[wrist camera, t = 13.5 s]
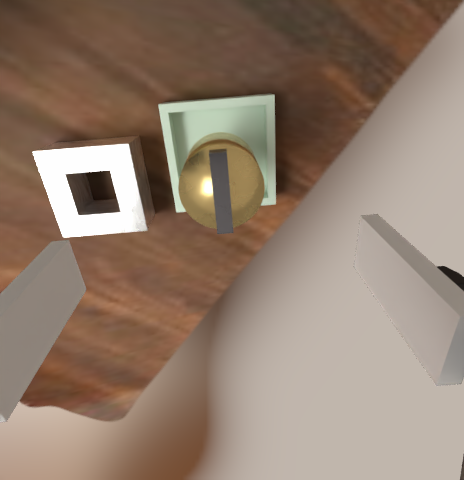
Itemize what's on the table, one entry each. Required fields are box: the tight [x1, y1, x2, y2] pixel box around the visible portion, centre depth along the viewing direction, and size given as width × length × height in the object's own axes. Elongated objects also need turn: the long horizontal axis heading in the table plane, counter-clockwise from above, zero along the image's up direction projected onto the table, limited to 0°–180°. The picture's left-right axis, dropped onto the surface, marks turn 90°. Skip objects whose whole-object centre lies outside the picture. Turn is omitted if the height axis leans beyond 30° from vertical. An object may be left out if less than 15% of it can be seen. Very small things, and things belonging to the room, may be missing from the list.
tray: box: [158, 93, 276, 212], centre depth 34 cm, size 11×11×2 cm
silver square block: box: [33, 136, 155, 237], centre depth 34 cm, size 9×9×4 cm
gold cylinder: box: [178, 132, 265, 234], centre depth 28 cm, size 6×6×13 cm
